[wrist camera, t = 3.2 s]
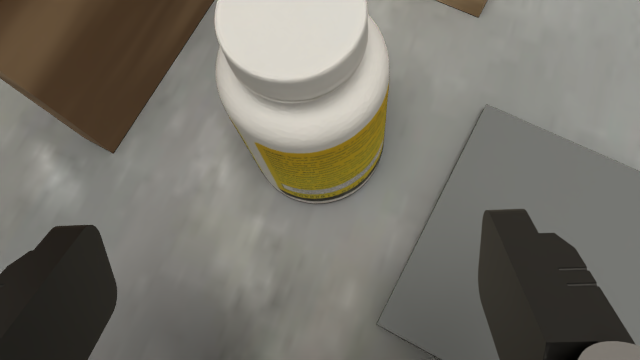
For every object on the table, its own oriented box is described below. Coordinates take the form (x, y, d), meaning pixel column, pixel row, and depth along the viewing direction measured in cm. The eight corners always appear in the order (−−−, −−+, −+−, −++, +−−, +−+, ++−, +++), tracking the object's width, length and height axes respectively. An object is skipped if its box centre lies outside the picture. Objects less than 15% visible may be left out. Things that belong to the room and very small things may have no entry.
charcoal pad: (376, 324, 21) (376, 323, 20) (483, 109, 23) (486, 104, 22) (633, 465, 19) (641, 469, 18) (725, 216, 21) (734, 213, 20)
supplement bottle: (410, 143, 23) (441, 9, 13) (316, 232, 22) (281, 155, 13) (322, 63, 24) (295, -110, 15) (231, 144, 23) (142, 15, 14)
